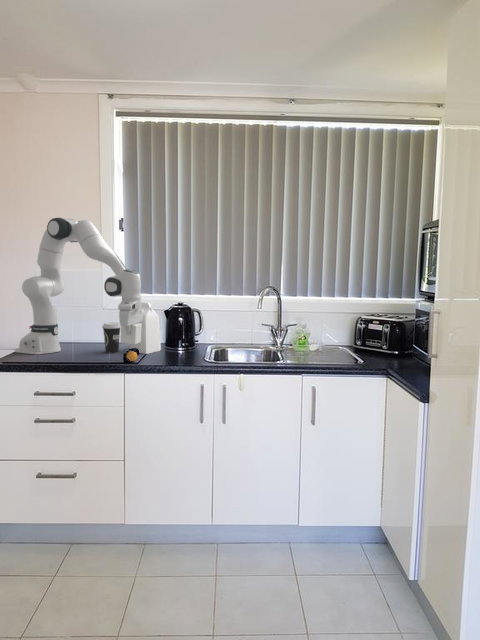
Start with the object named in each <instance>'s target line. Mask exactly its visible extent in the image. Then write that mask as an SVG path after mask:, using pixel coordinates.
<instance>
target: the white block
mask: <svg viewBox="0 0 480 640" xmlns="http://www.w3.org/2000/svg"><path fill="white" fill-rule="evenodd" d="M141 326H142V324H139V323H136V324H133V325H130V331H131V335H126V330H125V326H121V328H120V338H119V344H127V345H128V344H129V345H130V344H137V343H139V342H141Z"/></svg>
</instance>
